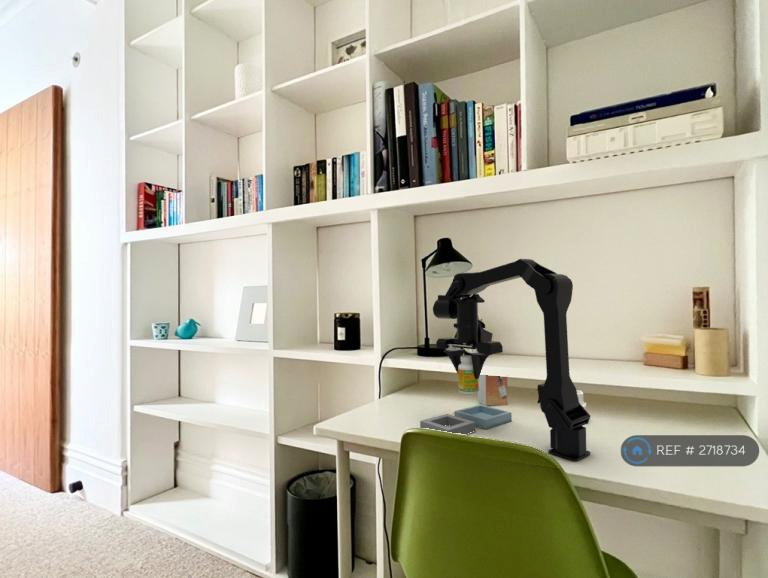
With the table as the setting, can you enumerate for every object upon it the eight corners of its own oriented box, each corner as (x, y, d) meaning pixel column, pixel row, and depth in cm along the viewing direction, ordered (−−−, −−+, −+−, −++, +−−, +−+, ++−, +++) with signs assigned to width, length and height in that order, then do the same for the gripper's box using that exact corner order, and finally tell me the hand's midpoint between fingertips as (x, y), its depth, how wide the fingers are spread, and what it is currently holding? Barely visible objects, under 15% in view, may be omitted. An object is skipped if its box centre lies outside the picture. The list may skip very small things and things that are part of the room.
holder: (475, 431, 110) (475, 422, 110) (448, 440, 104) (448, 430, 104) (447, 422, 118) (447, 413, 118) (420, 430, 112) (420, 420, 112)
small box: (485, 406, 134) (485, 373, 134) (477, 402, 139) (476, 370, 139) (508, 404, 136) (507, 371, 136) (499, 400, 141) (498, 368, 142)
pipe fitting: (559, 422, 117) (559, 393, 117) (562, 415, 123) (561, 387, 123) (585, 425, 114) (584, 395, 114) (586, 418, 120) (586, 389, 120)
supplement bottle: (463, 395, 113) (462, 358, 113) (455, 390, 118) (454, 355, 118) (482, 393, 114) (481, 357, 114) (473, 389, 119) (472, 354, 119)
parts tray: (511, 421, 118) (511, 412, 118) (485, 429, 112) (485, 419, 112) (480, 412, 127) (480, 404, 127) (454, 420, 120) (454, 411, 120)
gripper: (514, 319, 114) (515, 378, 114) (460, 317, 129) (461, 369, 128) (488, 321, 107) (489, 384, 107) (434, 319, 122) (435, 374, 121)
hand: (468, 377), depth 116 cm, fingers closed on supplement bottle, 5 cm apart
